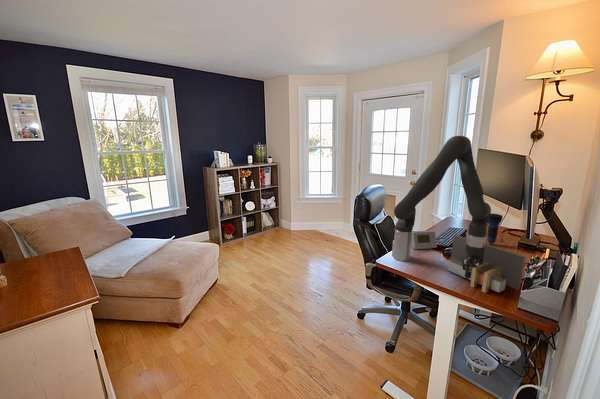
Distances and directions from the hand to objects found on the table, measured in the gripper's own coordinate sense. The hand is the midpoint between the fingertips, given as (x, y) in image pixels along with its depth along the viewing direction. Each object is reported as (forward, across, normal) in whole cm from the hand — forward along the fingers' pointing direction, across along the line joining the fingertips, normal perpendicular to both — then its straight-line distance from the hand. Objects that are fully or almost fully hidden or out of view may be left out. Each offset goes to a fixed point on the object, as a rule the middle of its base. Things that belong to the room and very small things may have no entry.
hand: (470, 276), depth 128 cm
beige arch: (+2, 0, +4) cm, 5 cm away
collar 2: (+2, 0, +9) cm, 9 cm away
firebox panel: (+2, -10, 0) cm, 10 cm away
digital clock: (+2, -14, -37) cm, 40 cm away
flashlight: (+2, -55, -19) cm, 58 cm away
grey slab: (+1, 0, +2) cm, 2 cm away
